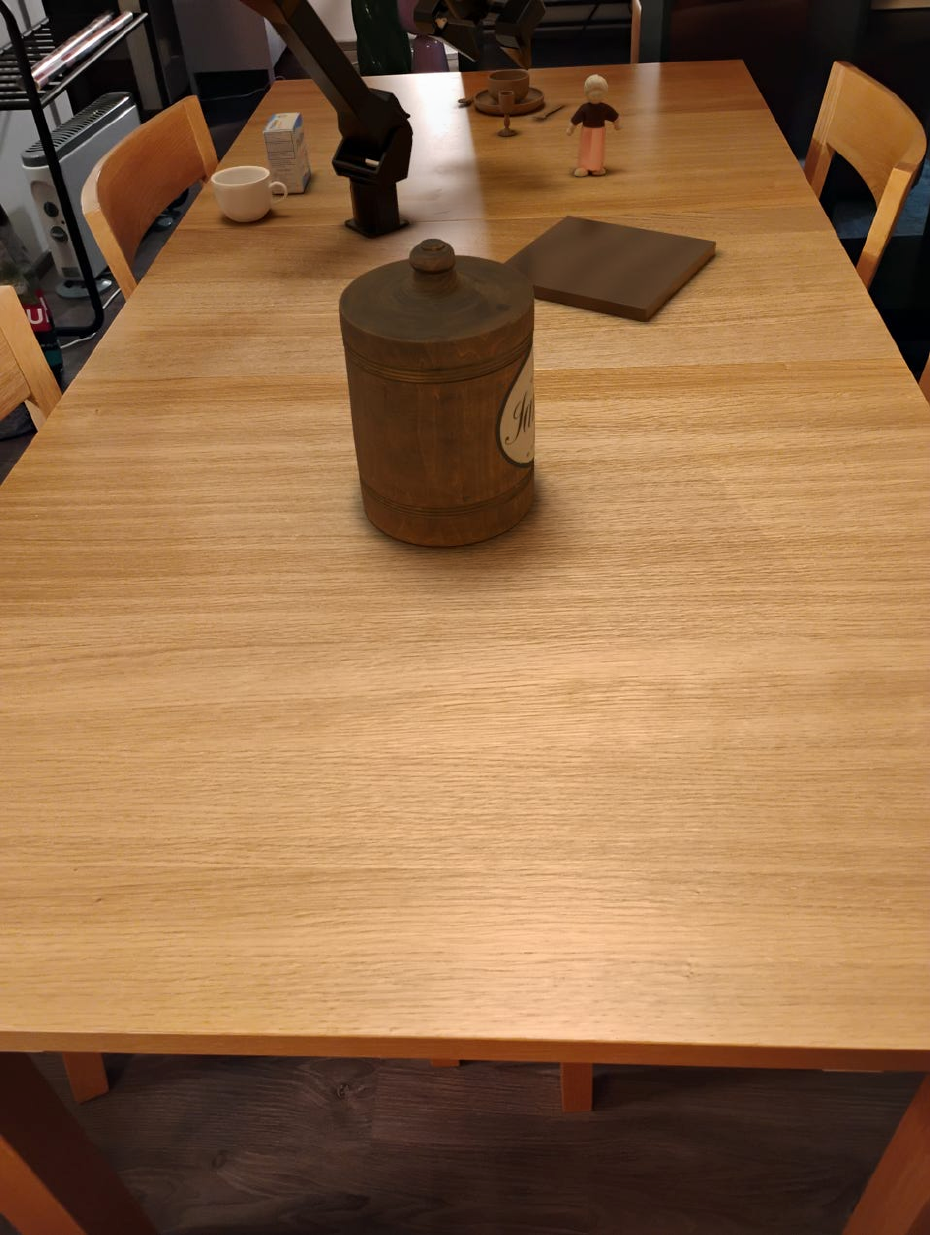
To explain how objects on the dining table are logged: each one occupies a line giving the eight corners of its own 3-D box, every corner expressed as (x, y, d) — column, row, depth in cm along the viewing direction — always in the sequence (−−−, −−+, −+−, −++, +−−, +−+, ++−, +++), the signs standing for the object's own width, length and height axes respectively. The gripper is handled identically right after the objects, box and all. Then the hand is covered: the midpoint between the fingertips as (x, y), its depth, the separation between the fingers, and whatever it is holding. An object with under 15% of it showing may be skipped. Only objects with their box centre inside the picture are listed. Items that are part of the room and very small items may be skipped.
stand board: (714, 253, 120) (716, 241, 119) (645, 322, 107) (646, 309, 106) (567, 227, 128) (567, 215, 127) (487, 287, 116) (486, 275, 115)
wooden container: (559, 526, 82) (564, 265, 67) (384, 565, 79) (348, 302, 64) (504, 434, 92) (497, 191, 77) (347, 466, 90) (310, 221, 75)
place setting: (572, 102, 168) (573, 63, 164) (513, 138, 155) (512, 97, 151) (484, 91, 175) (483, 54, 171) (420, 124, 163) (417, 85, 159)
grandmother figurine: (572, 180, 140) (574, 81, 132) (563, 172, 143) (564, 74, 135) (623, 172, 142) (628, 74, 133) (613, 164, 144) (618, 67, 136)
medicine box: (303, 193, 142) (293, 129, 136) (273, 195, 142) (261, 130, 136) (311, 174, 148) (301, 111, 142) (281, 175, 148) (271, 113, 142)
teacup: (212, 226, 134) (203, 185, 131) (229, 205, 140) (221, 165, 136) (283, 226, 133) (276, 185, 129) (298, 205, 138) (291, 165, 135)
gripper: (545, -84, 118) (587, 21, 132) (430, -92, 128) (480, 7, 141) (497, -6, 118) (544, 92, 131) (386, -20, 127) (440, 72, 141)
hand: (502, 63), depth 136 cm, fingers open, 9 cm apart
